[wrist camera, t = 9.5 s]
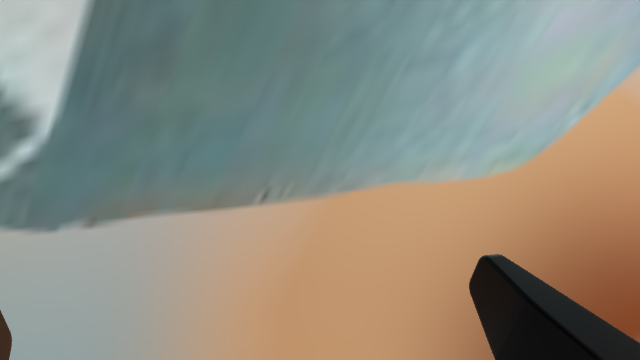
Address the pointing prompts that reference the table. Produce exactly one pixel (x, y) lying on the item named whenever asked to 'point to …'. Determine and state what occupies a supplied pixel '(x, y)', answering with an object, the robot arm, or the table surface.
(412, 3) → the table surface
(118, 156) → the table surface
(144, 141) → the table surface
